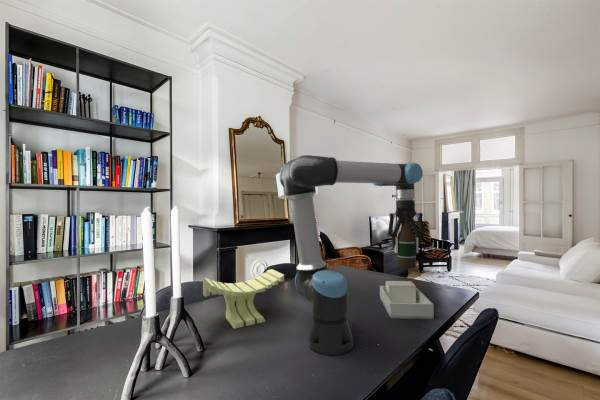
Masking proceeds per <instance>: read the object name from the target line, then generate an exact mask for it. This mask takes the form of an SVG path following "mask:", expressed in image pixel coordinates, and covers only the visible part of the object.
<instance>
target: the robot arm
mask: <svg viewBox="0 0 600 400" xmlns="http://www.w3.org/2000/svg"><path fill="white" fill-rule="evenodd" d="M278 179H279V182H280V185H281V186H282V187H283V188H284V189H283V190H284V195H285V198H287V200H289V201H290V207H291V214H292V222H293V228H294V233H295V234H294V235H295V241H296V248H297V254H298V264H297V265H296V267H295V268H296V269H295V271H296V274H295V278H294V285H295V288H296V289H297V291H298V293H299V295H301V296H302V297H303V298H304V299H306V300H307V301H308V302H310V303H311V304H312V323H311V325H310V329H309V333H308V335H307V344H308V347H309V348H310V349H311V350H312V351H314V352H316V353H318V354H322V355H327V356H330V355H331V356H337V355H342V354H346V353H348V352H350V351H351V350H352V349H353V348H354V337H353V334H352V331H351V327H350V325H349V322H348V290H349V289H348V283H347V282H348V281H347V278H346V277H345V276H344V274H342V273H341V272H338V271H333V270H328V268H327V263H326V261H325V260H323V258H322V254H321V253H322V252H321V246H320V240H319V234H318V227H317V220H316V219H317V217H316V213H315V206H314V196H315V195H316V193H317V191H316V187H323V186H334V185H335V184H336V183H339V184H340V183H347V184H355V183H356V184H372V185H373V186H375V187H377V186H378V187H395V199H396V201H395V202H396V204H395V206H396V210H395V212H390V213H388V217H389V222H388V230H387V236H388V237H391V244H392V245H394V253H395V254H397V253H398V238H397V236H398V233H399V231H400V229H401V224H402V221H403V219H404V217H405V214H404V213H403V212H405V211H408V212H409V214H408V216H409V220H410V226H411V227H412V228H411V229H412V231H413V233H414V235H415V242H416V254H419V246H420V245H421V244H422V243H421V238H422V237H424V236H426V231H425V227H424V222H423V215H424V214H423V213H422V212H417V211H416V210H415V209H416V202H415V200H414V199H416V198H415V184H416V183H419V182H420V181H421V180H422V179H423V168H422V166H421V165H420V164H419V163H416V162H408V163H390V162H389V163H388V162H372V161H371V162H370V161H369V162H368V161H351V160H349V161H348V160H338V159H337V158H335V157H332V156H322V155H321V156H320V155H306V154H305V155H301V156H298V157H296V158H294V159H290V160H288V161H287V162H286V163H284V164H283V166H282V167H281V169H280V172H279V178H278ZM396 217H397V218H398V219H397V221H396V225H395V227H394V222H395V221H394V220H395V218H396ZM414 217H416V218H417V223H418V227H419V228H418V227H417V225H416V222H415V220H414ZM393 228H394V229H393Z"/></svg>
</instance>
